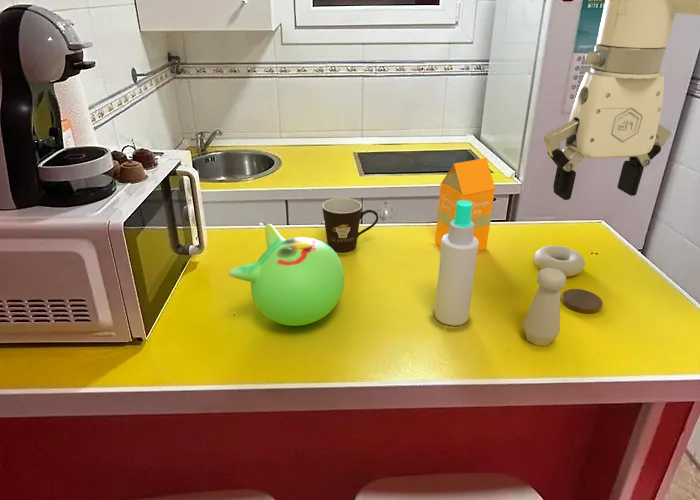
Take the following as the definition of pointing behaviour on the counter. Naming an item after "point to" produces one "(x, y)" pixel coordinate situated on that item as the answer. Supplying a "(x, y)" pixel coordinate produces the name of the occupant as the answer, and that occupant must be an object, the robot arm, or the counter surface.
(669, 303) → the counter surface
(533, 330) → the salt shaker
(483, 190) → the orange juice
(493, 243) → the counter surface
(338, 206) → the coffee mug
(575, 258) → the donut
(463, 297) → the spray bottle
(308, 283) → the toy bird
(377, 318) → the counter surface
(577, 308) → the coaster
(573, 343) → the counter surface
